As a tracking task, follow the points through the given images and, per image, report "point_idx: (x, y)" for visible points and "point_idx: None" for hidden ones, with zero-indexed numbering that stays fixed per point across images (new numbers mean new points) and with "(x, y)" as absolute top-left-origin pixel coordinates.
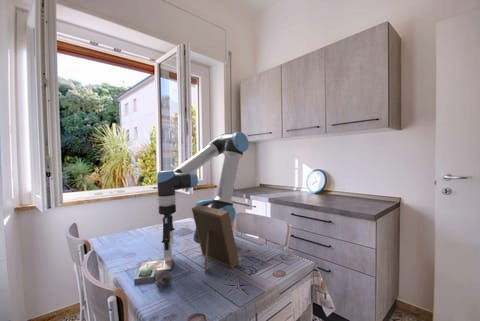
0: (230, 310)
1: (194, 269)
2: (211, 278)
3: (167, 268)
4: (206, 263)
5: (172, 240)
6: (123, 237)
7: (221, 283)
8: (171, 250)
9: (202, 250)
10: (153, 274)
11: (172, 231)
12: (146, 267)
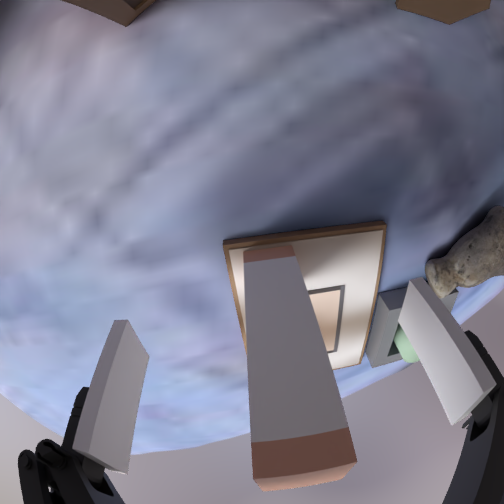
0: None
1: (400, 67)
2: (478, 16)
3: (373, 251)
4: (484, 8)
5: (119, 359)
6: (55, 422)
7: (499, 3)
8: (281, 307)
9: (127, 8)
10: (442, 299)
11: (92, 454)
12: (407, 352)
